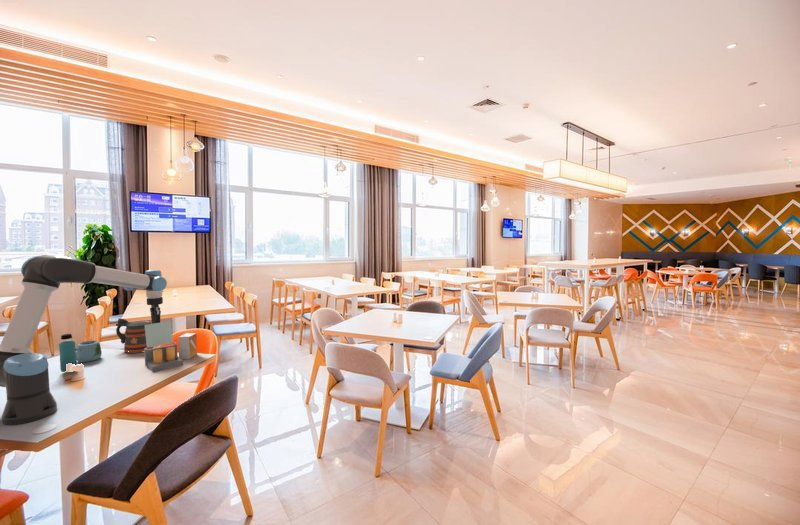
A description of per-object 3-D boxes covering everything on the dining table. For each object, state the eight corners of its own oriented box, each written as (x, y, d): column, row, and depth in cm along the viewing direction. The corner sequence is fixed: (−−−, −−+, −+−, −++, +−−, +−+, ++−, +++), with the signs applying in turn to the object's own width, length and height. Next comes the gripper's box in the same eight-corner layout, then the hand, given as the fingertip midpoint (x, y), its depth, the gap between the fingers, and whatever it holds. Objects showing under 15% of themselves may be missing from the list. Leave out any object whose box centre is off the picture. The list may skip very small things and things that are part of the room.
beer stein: (111, 355, 211) (108, 321, 209) (122, 347, 224) (120, 316, 223) (148, 352, 216) (146, 319, 215) (157, 345, 230) (155, 314, 229)
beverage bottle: (67, 375, 180) (64, 336, 179) (56, 374, 182) (54, 335, 180) (81, 370, 187) (78, 333, 185) (71, 369, 188) (68, 332, 187)
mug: (84, 366, 194) (82, 347, 193) (63, 365, 194) (62, 347, 193) (107, 356, 208) (106, 339, 208) (88, 356, 209) (87, 339, 208)
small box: (190, 359, 204) (189, 336, 203) (178, 359, 204) (177, 336, 203) (197, 354, 212) (196, 332, 211) (186, 354, 212) (185, 332, 211)
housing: (151, 371, 185) (150, 353, 185) (145, 365, 195) (144, 347, 194) (183, 364, 196) (183, 347, 195) (176, 358, 206) (175, 341, 205)
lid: (144, 324, 196) (144, 325, 197) (147, 347, 195) (147, 347, 195) (170, 321, 205) (170, 321, 205) (173, 342, 204) (173, 342, 204)
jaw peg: (167, 365, 194) (167, 349, 193) (166, 363, 197) (165, 347, 196) (176, 363, 197) (175, 347, 196) (174, 362, 200) (173, 346, 199)
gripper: (165, 297, 201) (167, 339, 203) (159, 295, 210) (161, 334, 212) (149, 299, 196) (151, 342, 197) (143, 296, 205) (146, 337, 206)
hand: (156, 338), depth 205 cm, fingers closed
